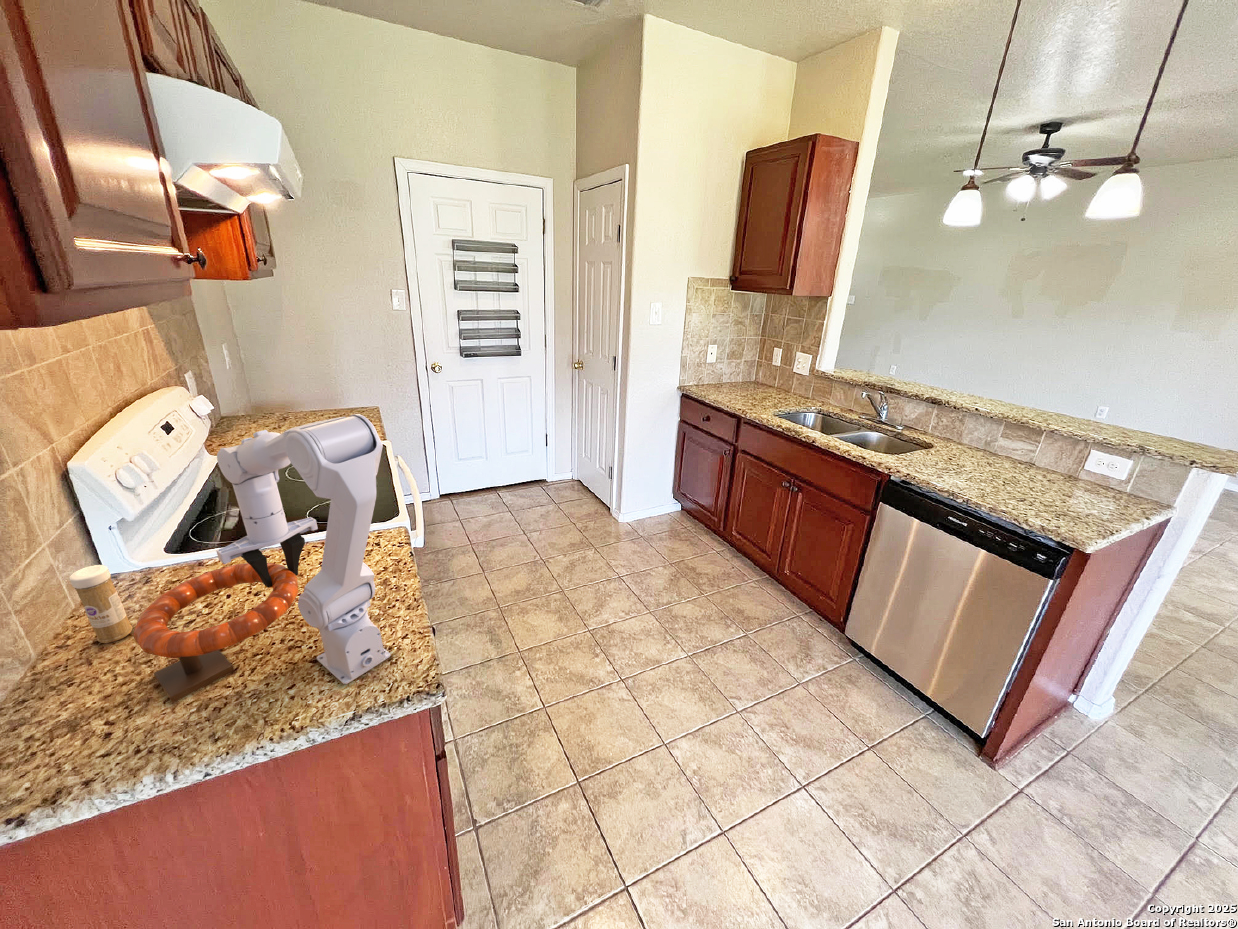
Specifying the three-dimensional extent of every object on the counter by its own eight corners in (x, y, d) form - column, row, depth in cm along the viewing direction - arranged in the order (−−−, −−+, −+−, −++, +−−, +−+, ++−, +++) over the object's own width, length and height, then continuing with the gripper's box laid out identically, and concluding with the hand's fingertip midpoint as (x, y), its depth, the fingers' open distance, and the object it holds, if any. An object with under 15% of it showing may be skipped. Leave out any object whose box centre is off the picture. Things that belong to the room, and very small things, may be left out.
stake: (234, 671, 80) (225, 643, 78) (172, 703, 74) (160, 674, 72) (215, 649, 84) (206, 623, 82) (155, 678, 78) (143, 650, 76)
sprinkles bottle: (91, 646, 84) (60, 581, 79) (108, 629, 88) (79, 565, 83) (124, 641, 86) (96, 576, 81) (139, 624, 90) (113, 562, 85)
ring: (323, 603, 84) (318, 586, 82) (166, 686, 68) (156, 666, 66) (268, 561, 95) (262, 545, 93) (122, 624, 79) (112, 606, 77)
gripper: (297, 490, 90) (312, 554, 95) (200, 520, 79) (224, 590, 84) (316, 501, 86) (331, 566, 91) (218, 534, 75) (241, 606, 80)
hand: (281, 579), depth 87 cm, fingers closed on ring, 3 cm apart
